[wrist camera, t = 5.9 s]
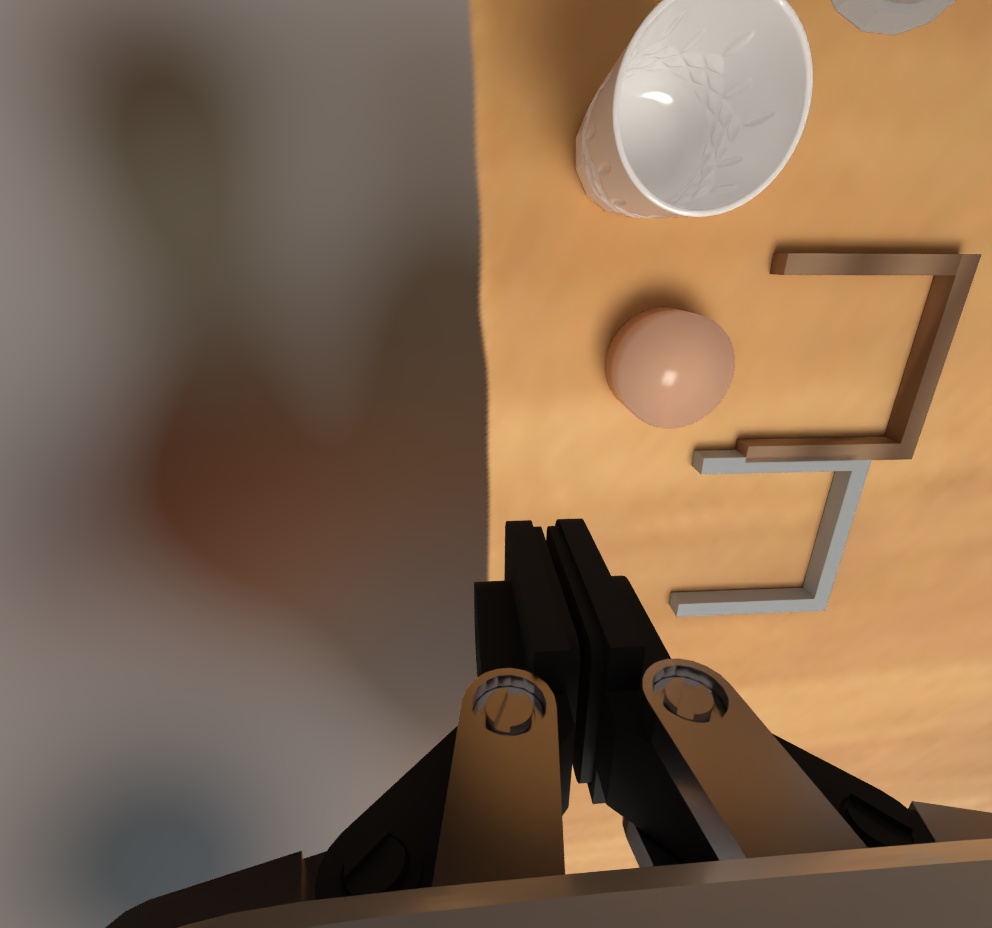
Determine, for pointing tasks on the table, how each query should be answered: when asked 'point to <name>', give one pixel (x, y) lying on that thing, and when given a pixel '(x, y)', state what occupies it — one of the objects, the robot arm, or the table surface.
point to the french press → (890, 13)
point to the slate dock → (825, 549)
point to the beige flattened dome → (670, 366)
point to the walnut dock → (922, 363)
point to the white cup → (697, 109)
